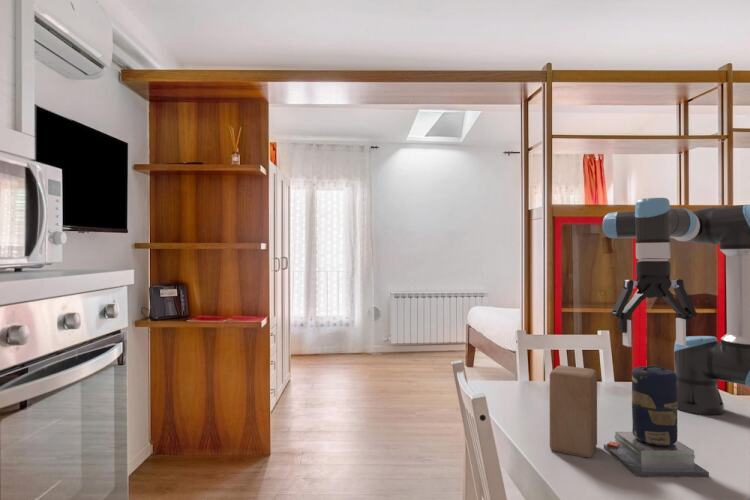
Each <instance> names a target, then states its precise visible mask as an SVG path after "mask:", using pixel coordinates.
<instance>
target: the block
mask: <svg viewBox="0 0 750 500" xmlns="http://www.w3.org/2000/svg"><path fill="white" fill-rule="evenodd" d="M597 445H598V373H597V370H595V369H594V368H587V367H579V366H578V367H577V366H570V365H568V366H567V365H558V366H556V367H555V368H553V369H552V370H551V371H550V373H549V448H550V450H551V451H554V452H558V453H563V454H567V455H568V454H569V455H572V456H576V457H577V456H578V457H583V458H587V459H588V458H592V456H593V454H594V451H595V450H596V447H597Z"/></svg>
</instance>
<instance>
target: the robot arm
mask: <svg viewBox="0 0 750 500" xmlns="http://www.w3.org/2000/svg"><path fill="white" fill-rule="evenodd" d="M670 203H671V202H670V200H669V199H668V198H667V197H645V198H640V199H637V201H636V202H635V207H634V208H635V209H634V210H629V211H626V210H625V211H615V212H609V213H607V214H606V215H605V216H604V217H603V219H602V220H603V221H602V230H603V234H604V235H605V236H606V237H607V238H608V239H635V258H636V260H637V261H636V262H635V275H636V279H635V280H633V279H624V280H623V283H622V284H623V285H622V290H621V291H620V293H619V296H618V298H617V299H616V302H615V304H614V306H613V309H612V311H611V313H610V316H611V317H614V318H617V319H618V321H619V322H618V324H619V326H618V327H619V330H618V331H619V332H620V333H621V334H622V346H625V347H628V348H632V320H630V319H629V318H630V317H631V315H632V314H633V313H634V312H635V310H636V309H637V308H638V306H640V304H642V302H643V301H644V300H645V299H654V298H658V299H663V300H664V301H665V302H666V303H667V304H668V306H670V307H671V309H672V310H673V311H674V313H675V314H676V315H677V316H678V317H676V318H675V341H674V346H673V347H674V350H673V353H674V354H673V356H674V357H673V359H674V361H673V362H674V368H673V369H674V371H673V372H675V374H676V376H677V402H678V408H677V411H682V412H686V413H691V414H698V415H707V416H708V415H711V416H712V415H714V416H715V415H721V414H723V413H724V412H725V405H724V402H723V399H722V396H721V394H720V391H719V388H718V381H723V382H728V383H733V384H737V385H743V386H746V387H750V204H747V203H746V204H742V205H741V204H739V205H729V206H728V205H727V206H717V207H715V206H713V207H711V206H710V207H705V208H698V209H692V210H689V209H688V208H684V207H671V205H670ZM671 239H674V240H676V241H679V242H688V243H689V242H690V243H695V244H697V243H698V244H706V245H719V251H720V252H721V253H723V254H724V255H725V278H726V279H725V283H726V288H725V289H726V292H725V293H726V297H725V298H726V334H724V335H723V336H722V337H720V342H718V341H719V340H718V338H717V336H712V335H691V336H690V335H689V336H687V333H688V332H689V329H690V328H689V326H690V324H689V323H690V322H689V320H691V319H692V317H696V316H697V315H698V313H697V311H696V309H695V307H694V305H693V302H692V300H691V299H690V297H689V295H688V293H687V291H686V289H685V284H684V280H683V279H682V278H681V279H680V278H673V279H671V278H670V276H671V273H672V272H671V271H672V269H671V262H670V260H669V259H671V257H672V256H671ZM636 288H637V290H636V291H635V293H634V294H633V296H632V298H631V299H630V297H631V295H632V292H633V291H634V289H636ZM670 288H673V292H674V293H675V295H676V297H677V299H678V301H677V299H676V298H675V297H674V294H673V293H672V292H671V291H670V290H669V289H670ZM686 332H687V333H686Z"/></svg>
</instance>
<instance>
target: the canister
mask: <svg viewBox="0 0 750 500" xmlns="http://www.w3.org/2000/svg"><path fill="white" fill-rule="evenodd" d="M677 408H678V402H677V376H676V374H675V372H674V371H673V370H671V369H668V368H666V367H664V366H661V365H657V364H652V365H648V366H647V365H645V366H644V365H643V366H636V367H634V368H633V369H632V370H631V411H632V412H631V413H632V416H631V419H632V420H631V422H632V423H631V424H632V426H631V427H632V429H631V432H633V435H634V436H635V437H636V438H637V439H639V440H641V441H644V442H647V443H651V444H656V445H671V444H674V443H675V442H676V441H678V409H677Z"/></svg>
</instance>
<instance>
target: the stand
mask: <svg viewBox="0 0 750 500" xmlns="http://www.w3.org/2000/svg"><path fill="white" fill-rule="evenodd" d="M614 440H615V441H609V442H608V443H606V444H603V449H604V450H605V451H606V452H607V453H608V454H610V455H611V457H613V458H614V459H616V460H617V461H618V462H619V463H620V464H622V465H623V466H624V467H626V469H627V470H629V471H630V472H631V473H632V474H634V475H635V476H636V478H637V477H643V478H644V477H645V478H646V477H650V478H652V477H653V478H654V477H656V478H657V477H661V478H665V477H666V478H668V477H669V478H670V477H673V478H675V477H679V478H681V477H682V478H683V477H685V478H687V477H688V478H689V477H690V478H694V477H695V478H696V477H698V478H702V477H703V478H705V477H706V478H708V477H710V472H709V471H708V470H706V469H704V468H703V467H702V466H700V465H698V464H697V463H696V462H695V459H696V456H695V450H694V449H692V448H691V447H689V446H687V445H686V444H683V442H681V441H679V440H677V441H676V442H675V443H674V444H671V445H656V444H651V443H647V442H644V441H641V440H639V439H637V438H636V437H635V436H634V435H633V432H632V431H615V433H614Z"/></svg>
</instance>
